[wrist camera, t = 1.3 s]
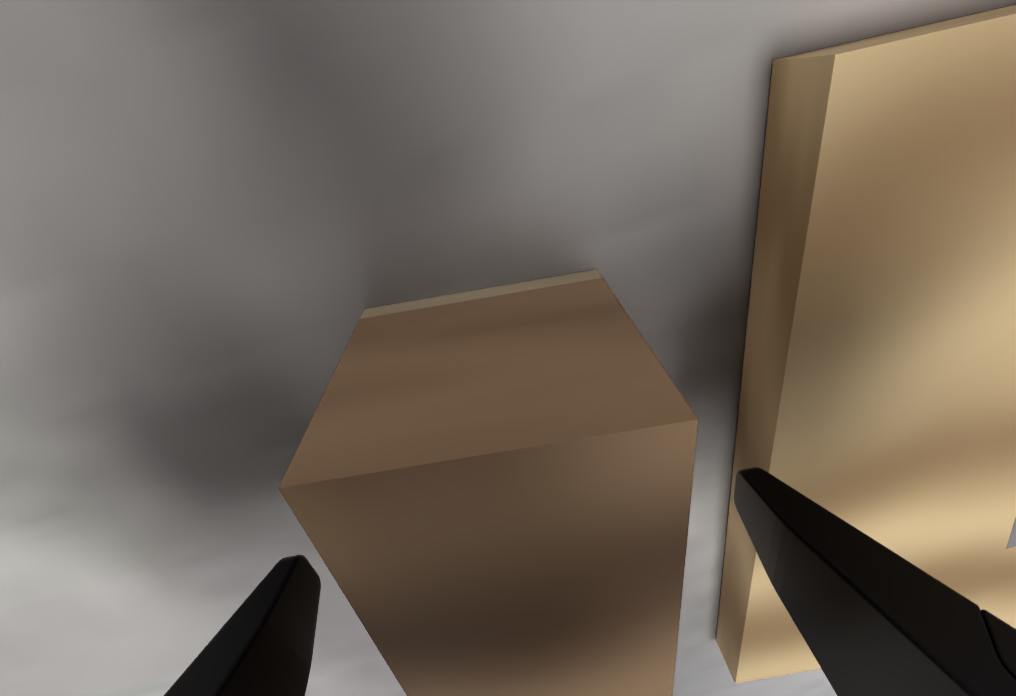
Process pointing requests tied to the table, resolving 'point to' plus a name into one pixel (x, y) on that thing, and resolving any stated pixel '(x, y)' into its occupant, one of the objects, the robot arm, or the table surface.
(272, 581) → the robot arm
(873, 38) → the oak board
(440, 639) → the block
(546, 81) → the table surface
